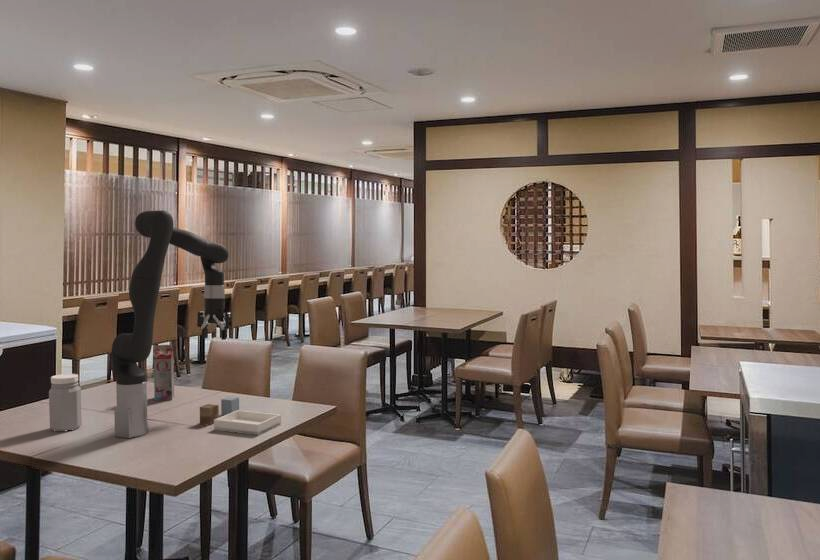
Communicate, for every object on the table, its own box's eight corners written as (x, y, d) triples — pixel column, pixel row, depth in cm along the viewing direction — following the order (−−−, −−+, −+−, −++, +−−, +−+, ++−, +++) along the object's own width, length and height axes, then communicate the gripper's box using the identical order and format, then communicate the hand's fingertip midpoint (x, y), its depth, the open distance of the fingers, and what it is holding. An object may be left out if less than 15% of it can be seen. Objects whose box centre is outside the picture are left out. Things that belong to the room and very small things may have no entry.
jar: (65, 433, 210) (64, 379, 209) (42, 431, 213) (41, 377, 212) (88, 425, 220) (87, 374, 219) (66, 423, 223) (64, 372, 222)
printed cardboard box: (172, 400, 257) (171, 345, 256) (154, 401, 255) (153, 346, 254) (174, 396, 263) (173, 343, 262) (157, 397, 262) (156, 344, 260)
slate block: (231, 416, 232) (231, 400, 232) (221, 415, 234) (221, 399, 233) (239, 413, 236) (238, 397, 236) (229, 412, 238) (228, 396, 237)
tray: (258, 435, 209) (258, 424, 208) (214, 429, 215) (213, 419, 215) (280, 424, 221) (280, 414, 221) (238, 419, 227) (238, 410, 227)
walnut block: (210, 425, 221) (210, 408, 220) (199, 423, 222) (199, 406, 222) (218, 421, 225) (218, 405, 225) (208, 420, 227) (207, 403, 226)
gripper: (192, 296, 244) (192, 339, 244) (224, 298, 239) (224, 341, 239) (205, 295, 251) (205, 337, 251) (236, 296, 246) (236, 338, 246)
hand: (214, 338), depth 245 cm, fingers open, 8 cm apart
